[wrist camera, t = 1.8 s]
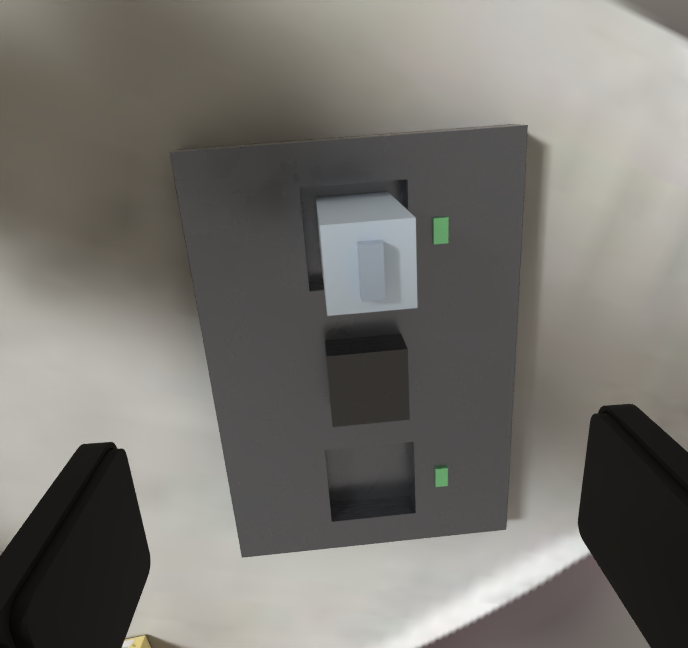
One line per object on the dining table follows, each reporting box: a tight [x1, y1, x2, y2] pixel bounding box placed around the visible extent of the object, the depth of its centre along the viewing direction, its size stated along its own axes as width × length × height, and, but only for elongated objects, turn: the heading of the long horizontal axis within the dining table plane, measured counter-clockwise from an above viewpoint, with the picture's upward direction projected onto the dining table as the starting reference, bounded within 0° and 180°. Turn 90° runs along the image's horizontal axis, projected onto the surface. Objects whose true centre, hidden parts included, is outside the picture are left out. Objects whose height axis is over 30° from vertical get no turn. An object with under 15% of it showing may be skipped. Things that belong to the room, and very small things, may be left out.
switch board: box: [170, 124, 528, 557], centre depth 32 cm, size 26×18×4 cm
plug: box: [316, 192, 417, 316], centre depth 26 cm, size 4×4×9 cm
